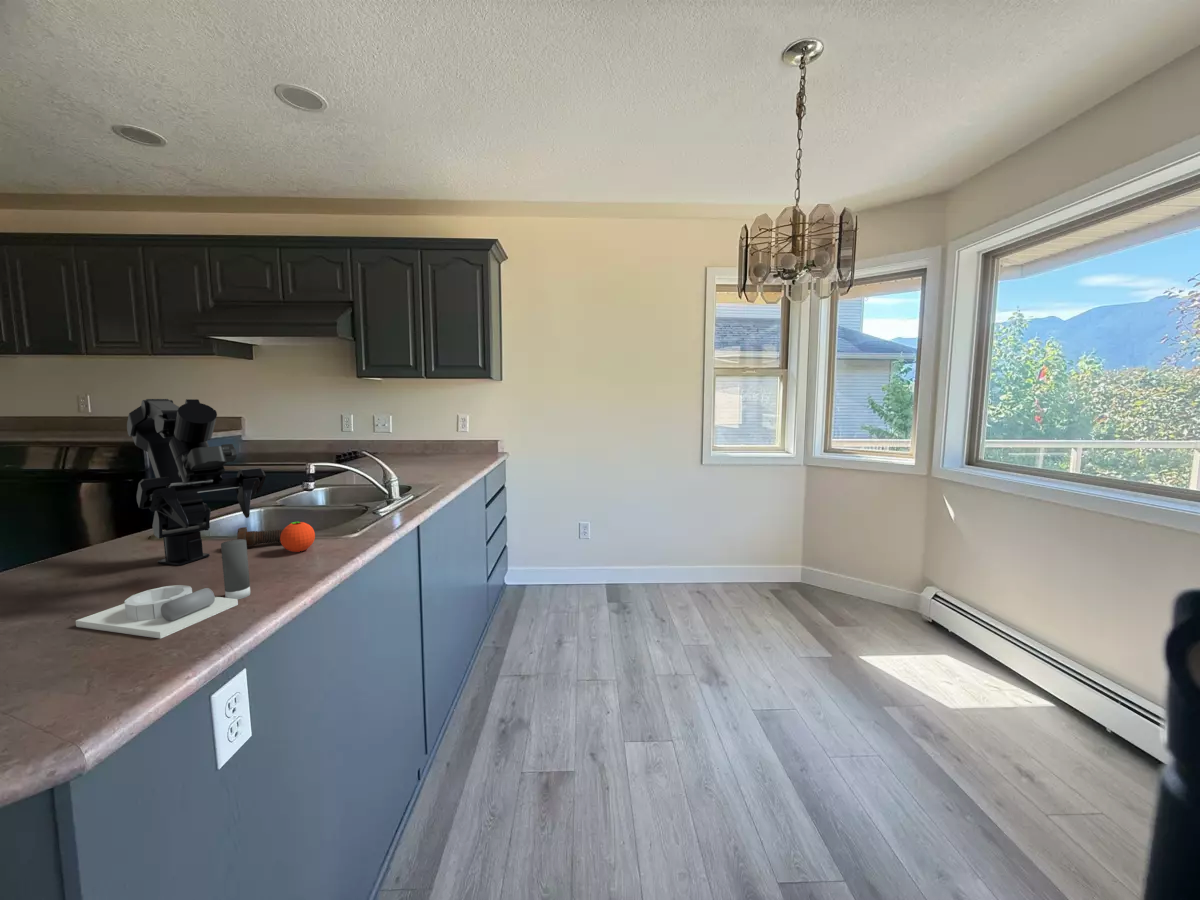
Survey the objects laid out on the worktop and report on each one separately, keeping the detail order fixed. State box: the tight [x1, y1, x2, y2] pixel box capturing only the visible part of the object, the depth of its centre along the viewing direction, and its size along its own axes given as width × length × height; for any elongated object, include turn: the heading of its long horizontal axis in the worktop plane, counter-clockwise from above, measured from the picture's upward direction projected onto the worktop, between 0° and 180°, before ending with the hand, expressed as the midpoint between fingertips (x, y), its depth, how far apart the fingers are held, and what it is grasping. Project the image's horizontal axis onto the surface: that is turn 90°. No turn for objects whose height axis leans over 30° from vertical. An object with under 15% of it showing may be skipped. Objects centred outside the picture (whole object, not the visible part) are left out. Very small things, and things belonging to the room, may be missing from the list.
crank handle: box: [220, 539, 251, 600], centre depth 85 cm, size 4×4×10 cm
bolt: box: [236, 525, 288, 547], centre depth 116 cm, size 6×5×15 cm
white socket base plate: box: [75, 584, 239, 640], centre depth 78 cm, size 17×12×4 cm
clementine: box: [280, 521, 316, 553], centre depth 111 cm, size 8×7×7 cm
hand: (218, 521), depth 88 cm, fingers open, 9 cm apart
